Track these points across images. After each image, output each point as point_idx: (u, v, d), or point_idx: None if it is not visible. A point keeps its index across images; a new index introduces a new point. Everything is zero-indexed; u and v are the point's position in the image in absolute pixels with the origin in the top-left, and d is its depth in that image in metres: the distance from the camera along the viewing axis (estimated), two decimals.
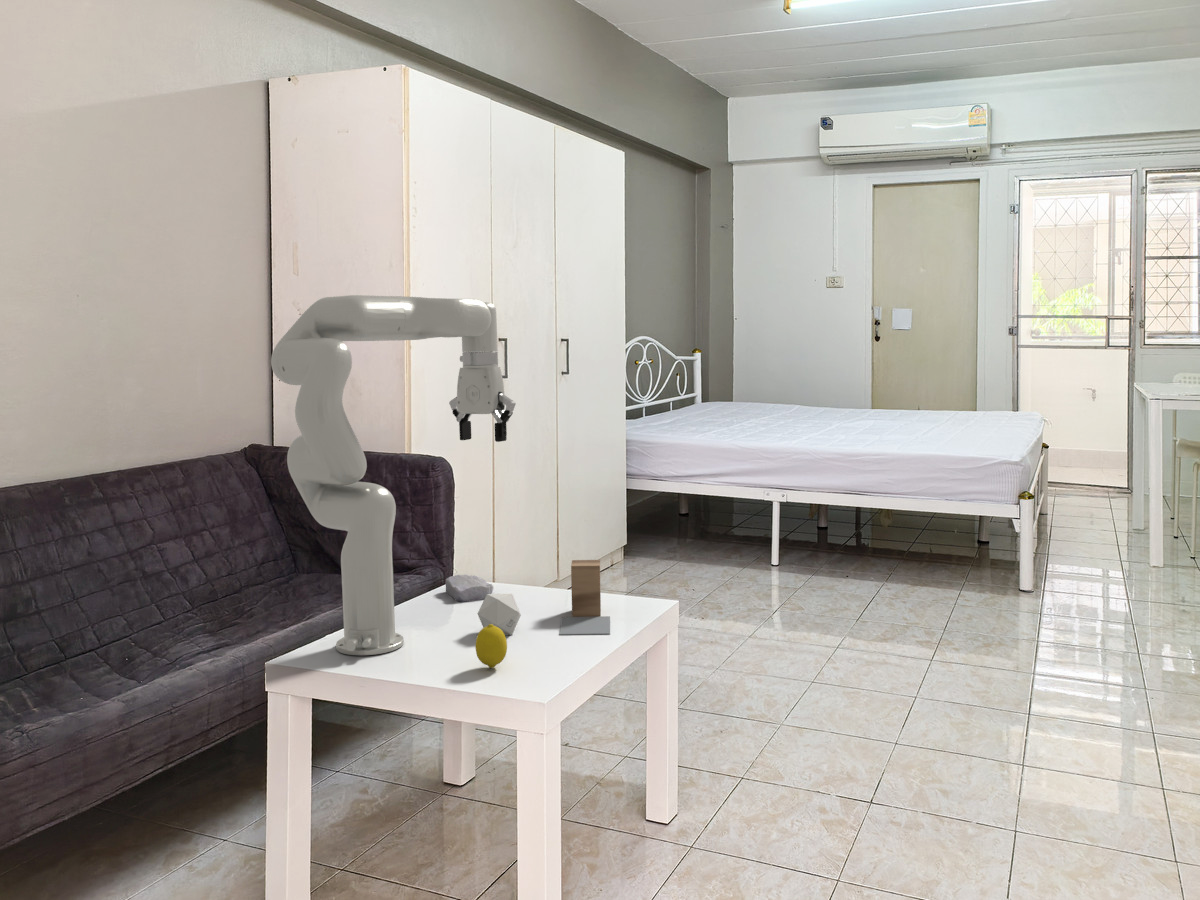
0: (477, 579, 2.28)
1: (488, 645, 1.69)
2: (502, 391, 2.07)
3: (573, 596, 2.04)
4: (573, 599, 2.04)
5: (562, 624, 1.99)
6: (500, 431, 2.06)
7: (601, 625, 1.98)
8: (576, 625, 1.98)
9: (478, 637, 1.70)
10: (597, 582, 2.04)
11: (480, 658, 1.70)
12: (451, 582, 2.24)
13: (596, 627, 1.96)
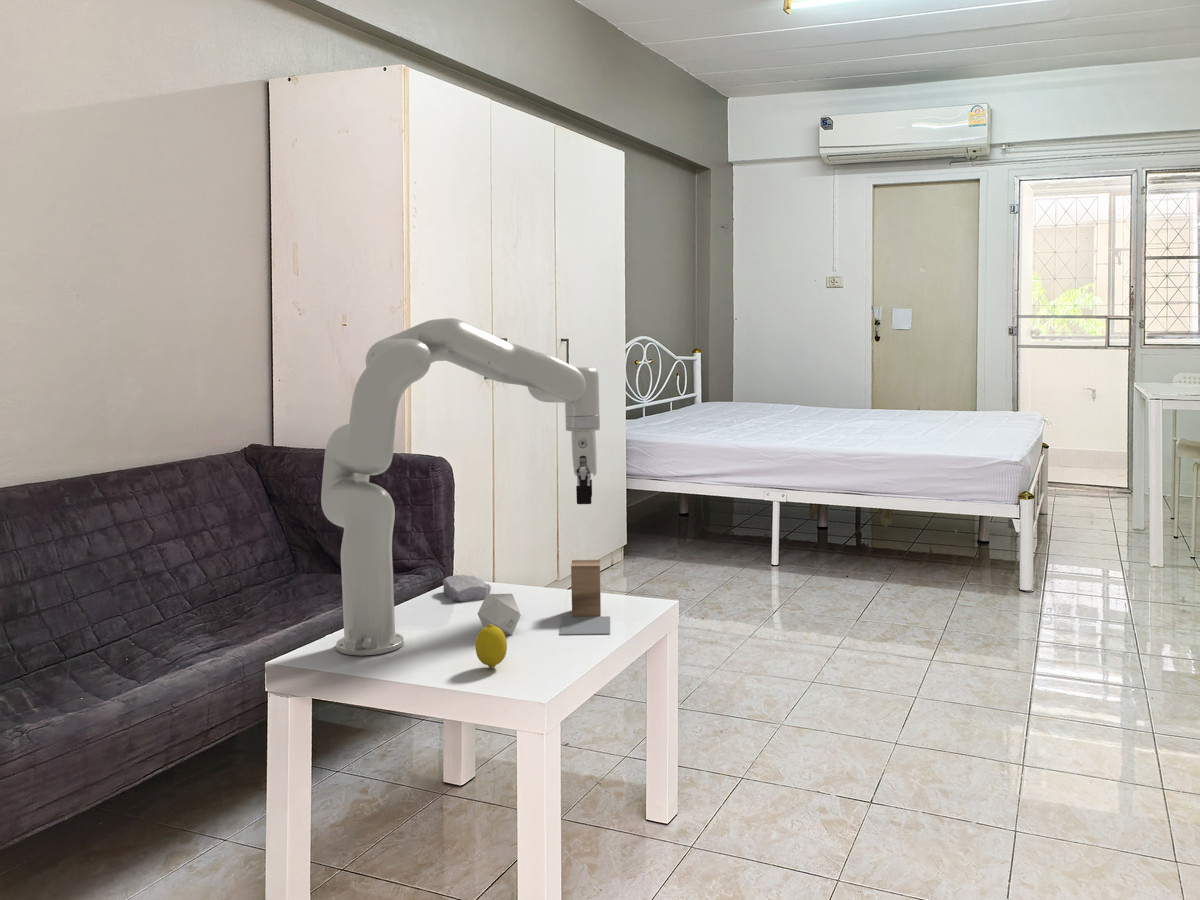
0: (475, 579, 2.28)
1: (488, 644, 1.69)
2: None
3: (573, 596, 2.04)
4: (573, 599, 2.04)
5: (562, 624, 1.99)
6: None
7: (601, 625, 1.98)
8: (576, 625, 1.98)
9: (478, 637, 1.70)
10: (597, 582, 2.04)
11: (480, 658, 1.70)
12: (449, 582, 2.24)
13: (596, 627, 1.96)
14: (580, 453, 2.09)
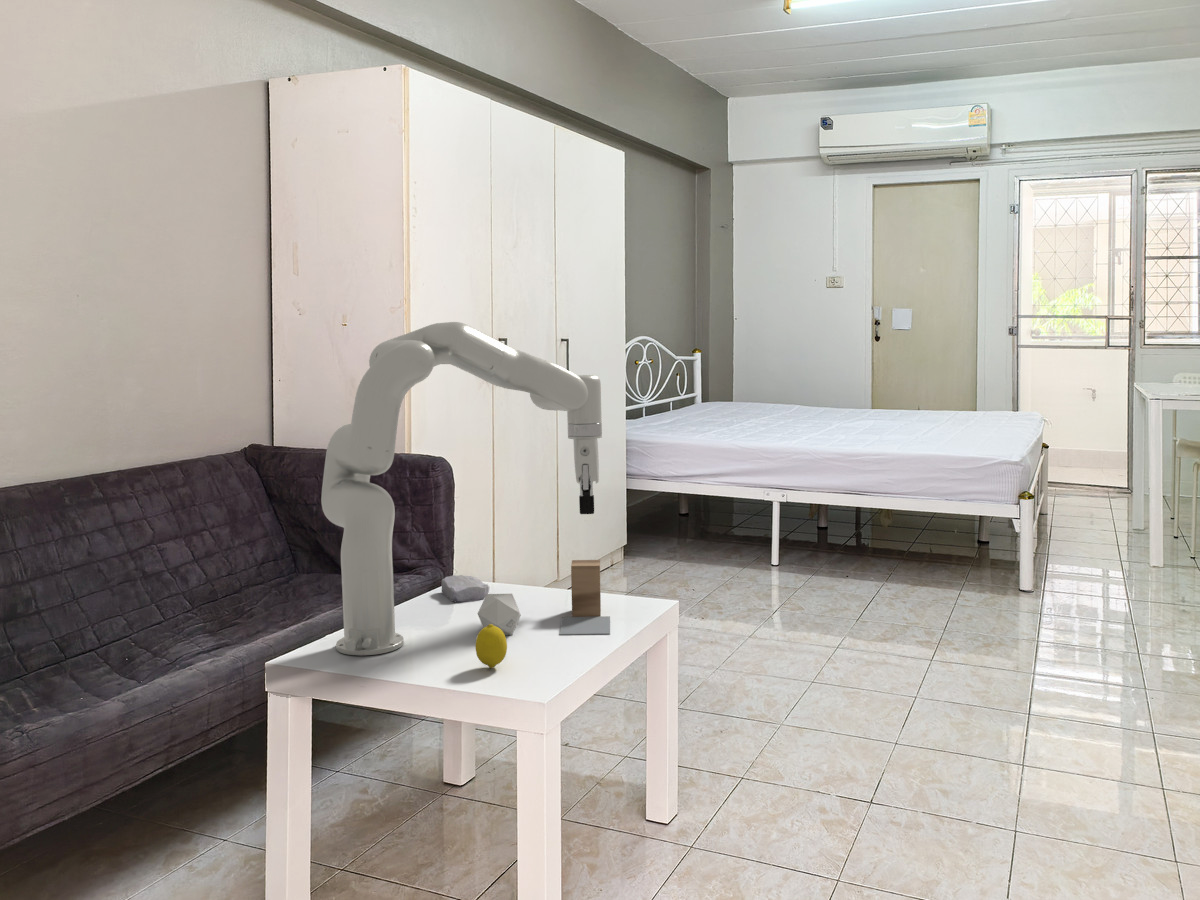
0: (473, 579, 2.28)
1: (488, 645, 1.69)
2: None
3: (573, 596, 2.04)
4: (573, 599, 2.04)
5: (562, 624, 1.99)
6: None
7: (601, 625, 1.98)
8: (576, 625, 1.98)
9: (478, 637, 1.70)
10: (597, 582, 2.04)
11: (480, 658, 1.70)
12: (447, 583, 2.24)
13: (596, 627, 1.96)
14: (583, 461, 2.10)
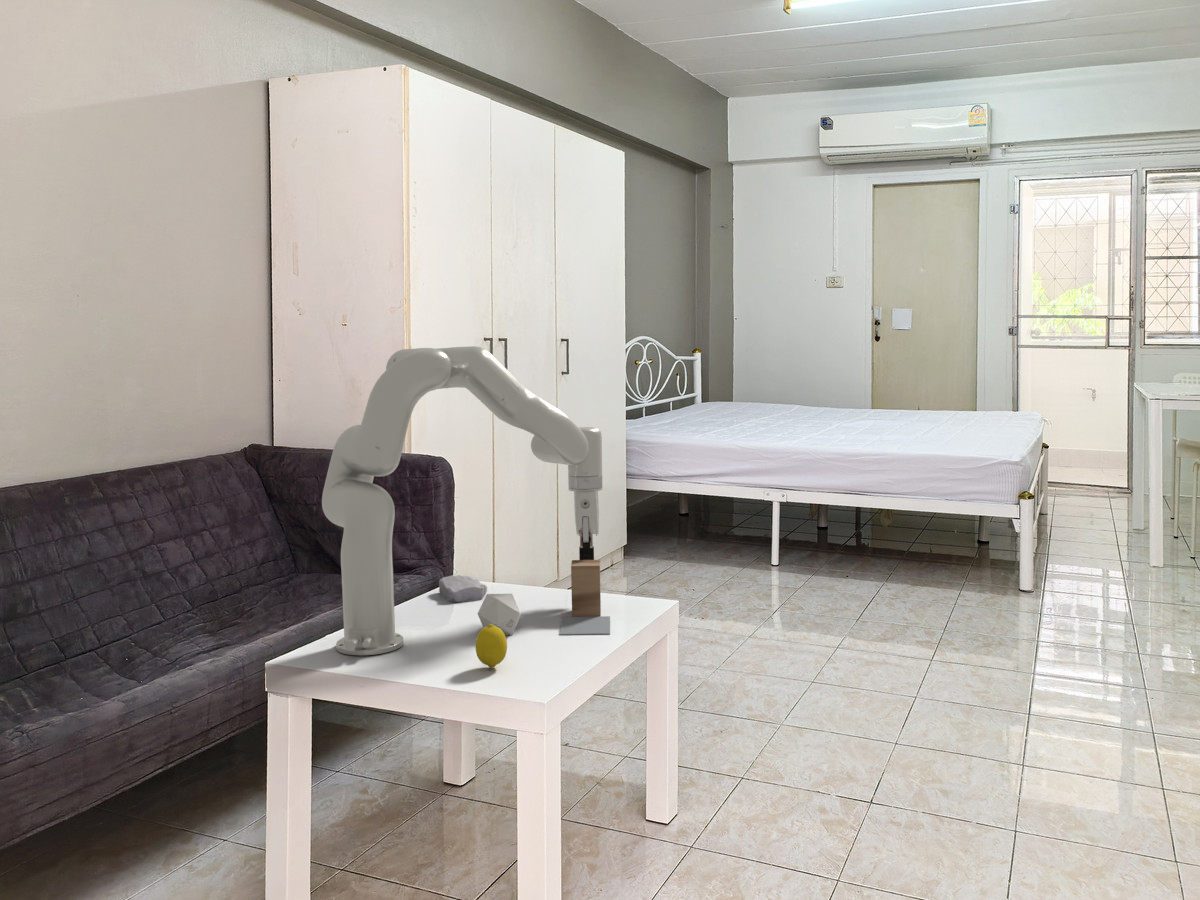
0: (471, 580, 2.28)
1: (488, 645, 1.69)
2: None
3: (573, 596, 2.04)
4: (573, 599, 2.04)
5: (562, 624, 1.99)
6: None
7: (601, 625, 1.98)
8: (576, 625, 1.98)
9: (478, 637, 1.70)
10: (597, 582, 2.04)
11: (480, 658, 1.70)
12: (445, 583, 2.24)
13: (596, 627, 1.96)
14: (583, 513, 2.10)
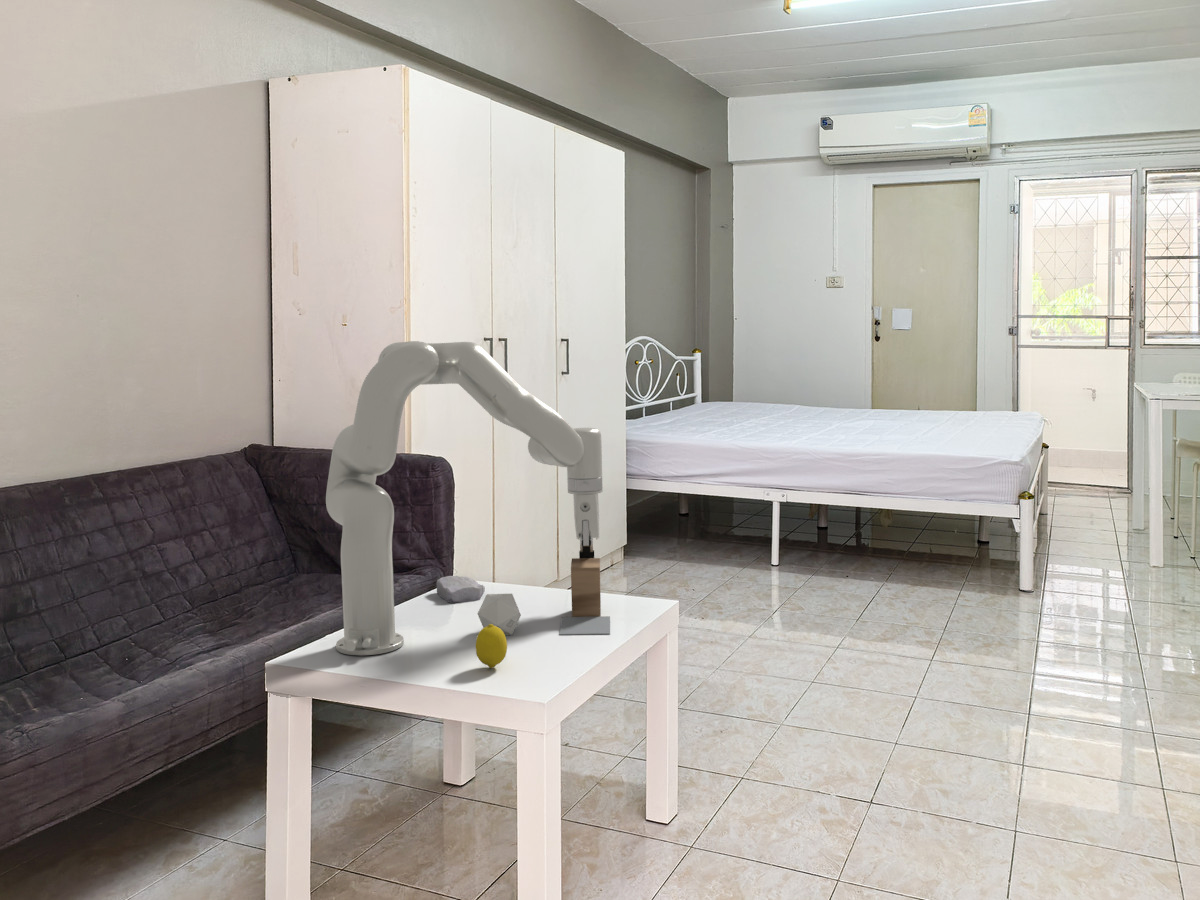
0: (468, 580, 2.28)
1: (488, 644, 1.69)
2: None
3: (573, 596, 2.04)
4: (573, 600, 2.04)
5: (562, 624, 1.99)
6: None
7: (601, 625, 1.98)
8: (576, 625, 1.98)
9: (478, 637, 1.70)
10: (597, 583, 2.03)
11: (480, 658, 1.70)
12: (442, 583, 2.23)
13: (596, 627, 1.96)
14: (583, 517, 2.05)
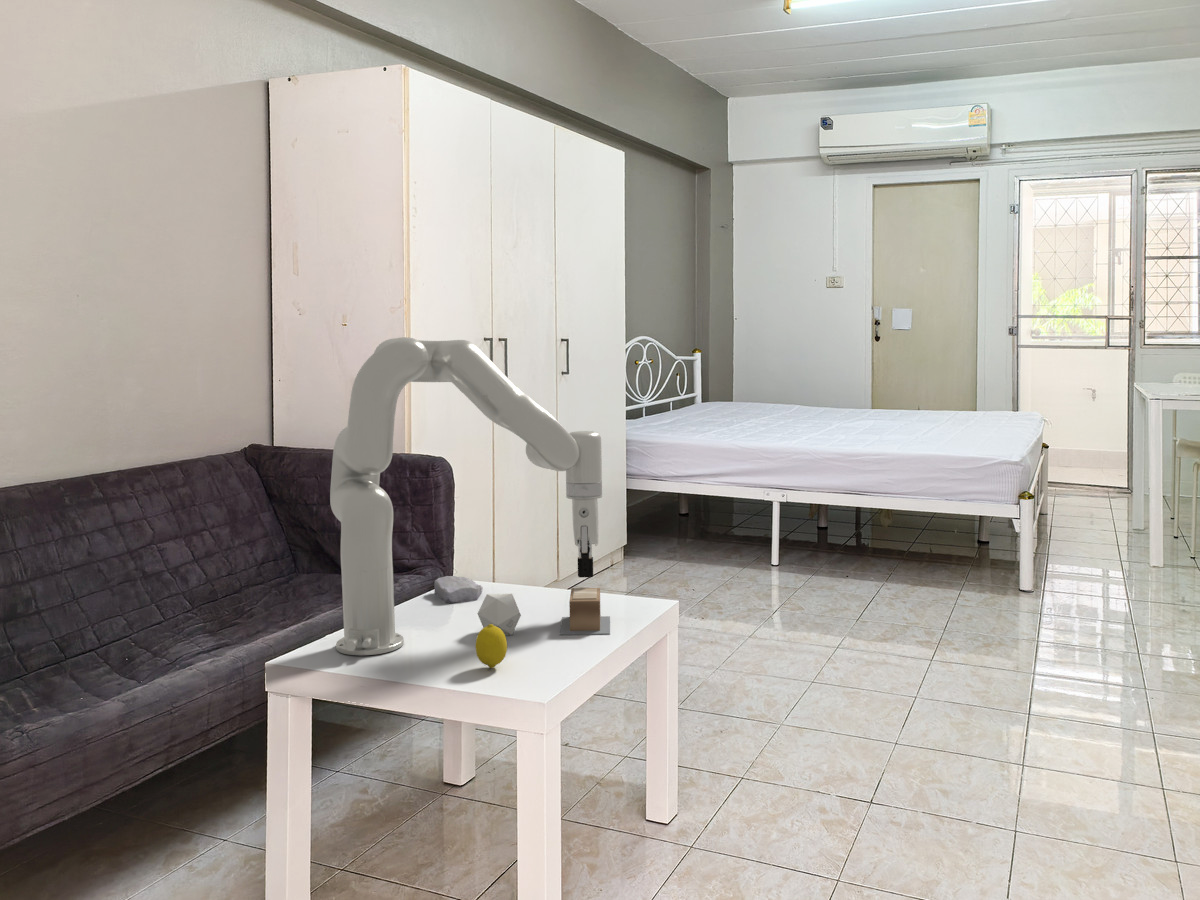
0: (466, 580, 2.27)
1: (488, 645, 1.69)
2: None
3: None
4: None
5: (562, 624, 1.99)
6: None
7: (601, 625, 1.98)
8: None
9: (478, 637, 1.70)
10: None
11: (480, 658, 1.70)
12: (440, 583, 2.23)
13: None
14: (582, 523, 1.99)
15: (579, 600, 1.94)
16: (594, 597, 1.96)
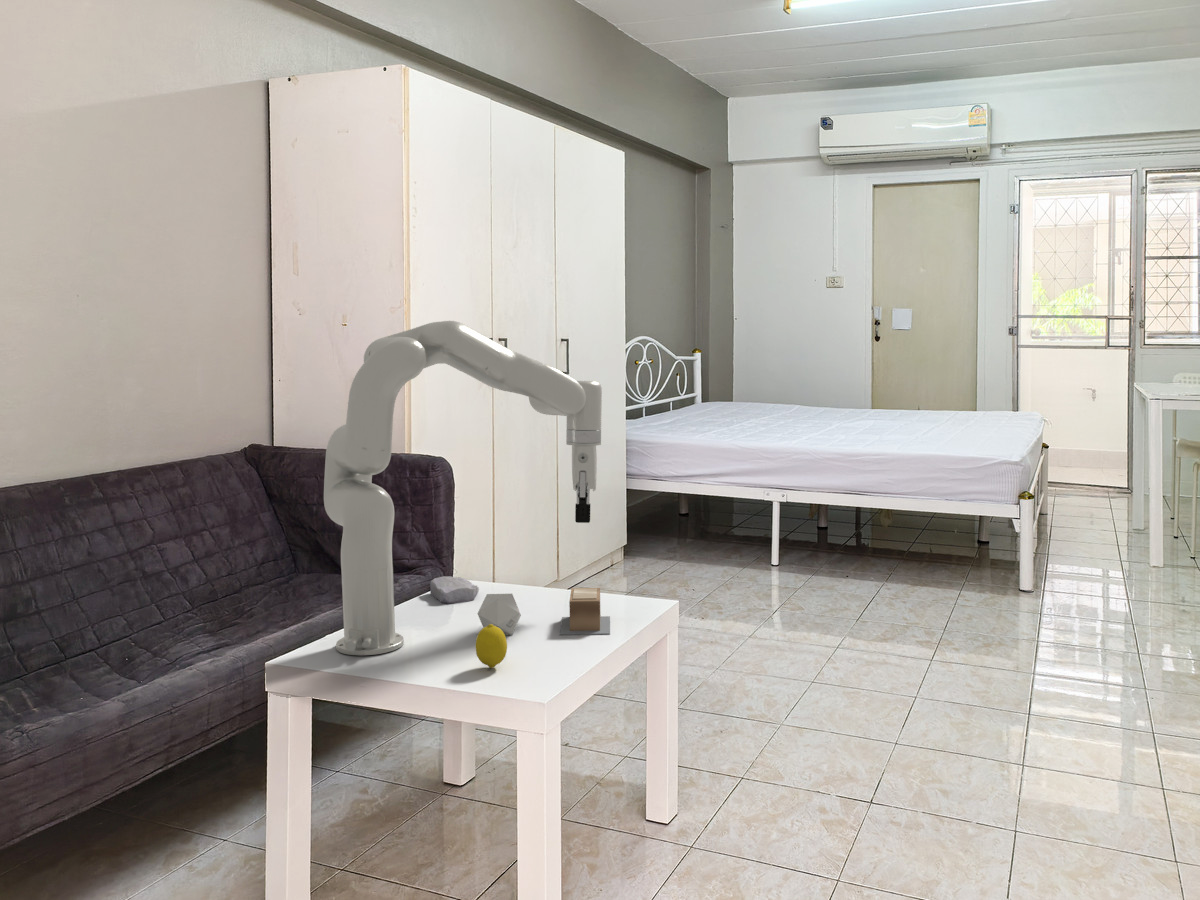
0: (462, 581, 2.27)
1: (488, 645, 1.69)
2: None
3: None
4: None
5: (562, 624, 1.99)
6: None
7: (601, 625, 1.98)
8: None
9: (478, 637, 1.70)
10: None
11: (480, 658, 1.70)
12: (436, 584, 2.23)
13: None
14: (580, 468, 2.06)
15: (579, 600, 1.94)
16: (594, 597, 1.96)
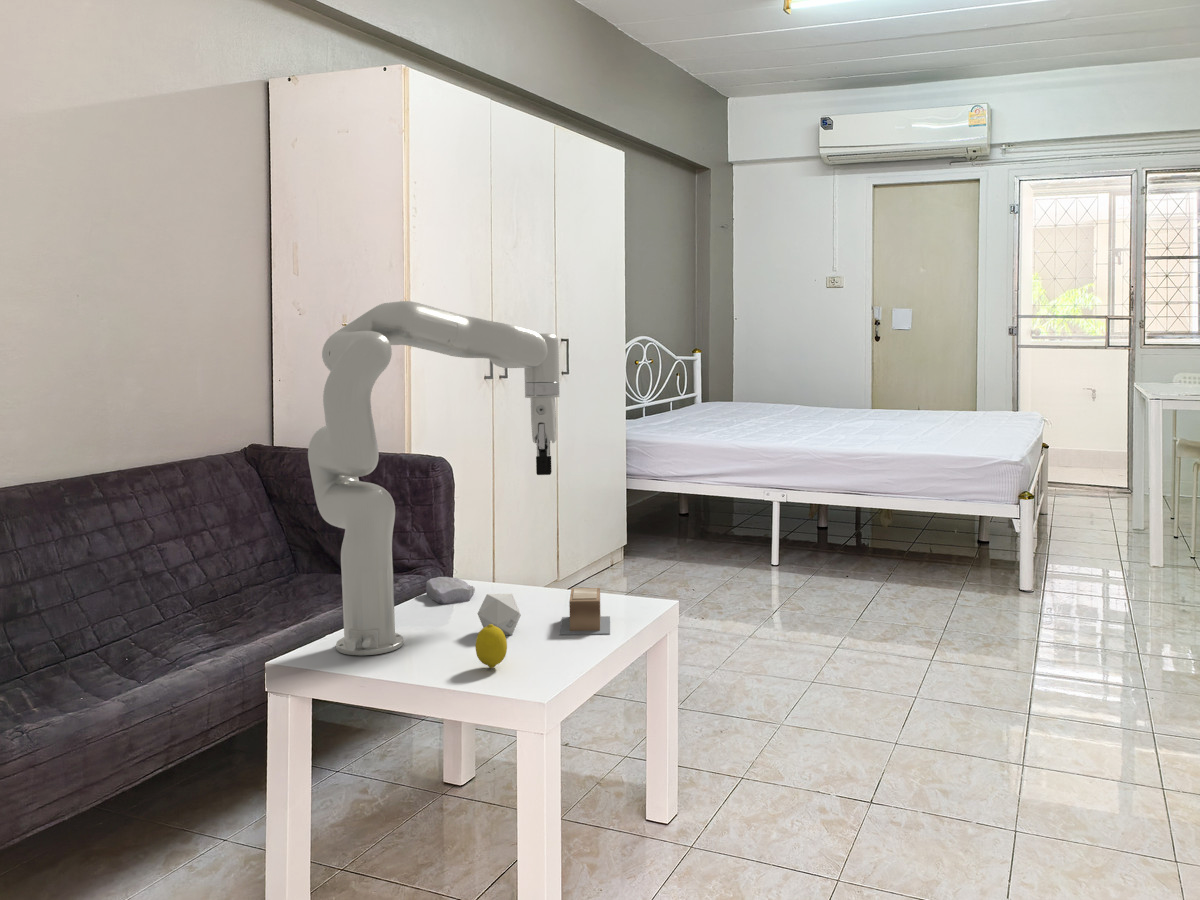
0: (458, 581, 2.27)
1: (488, 645, 1.69)
2: None
3: None
4: None
5: (562, 624, 1.99)
6: None
7: (601, 625, 1.98)
8: None
9: (478, 637, 1.70)
10: None
11: (480, 658, 1.70)
12: (432, 584, 2.22)
13: None
14: (539, 420, 2.07)
15: (579, 600, 1.94)
16: (594, 597, 1.96)
